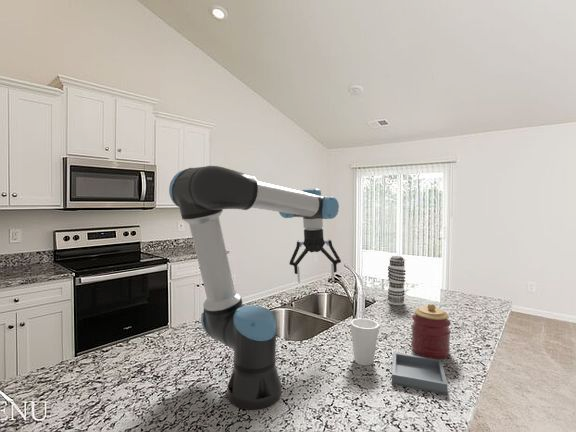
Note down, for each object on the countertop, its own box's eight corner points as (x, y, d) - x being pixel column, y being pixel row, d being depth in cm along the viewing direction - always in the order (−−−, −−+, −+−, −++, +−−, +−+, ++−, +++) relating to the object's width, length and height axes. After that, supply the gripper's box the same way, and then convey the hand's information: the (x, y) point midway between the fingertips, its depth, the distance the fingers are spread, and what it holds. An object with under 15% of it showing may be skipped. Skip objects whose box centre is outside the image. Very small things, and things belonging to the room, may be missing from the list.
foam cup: (378, 369, 105) (379, 330, 104) (349, 366, 107) (350, 327, 106) (376, 355, 114) (377, 319, 114) (350, 352, 116) (350, 317, 115)
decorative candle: (383, 300, 177) (384, 255, 176) (397, 299, 180) (399, 255, 179) (393, 305, 168) (395, 258, 167) (408, 304, 171) (409, 257, 170)
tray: (447, 394, 91) (447, 384, 91) (391, 384, 96) (391, 374, 96) (441, 368, 106) (441, 360, 105) (393, 360, 111) (393, 352, 110)
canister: (445, 345, 123) (447, 300, 122) (453, 362, 110) (455, 311, 109) (409, 341, 126) (410, 297, 125) (412, 356, 114) (414, 307, 113)
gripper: (344, 225, 129) (346, 276, 132) (282, 228, 131) (285, 279, 133) (346, 228, 122) (348, 282, 124) (280, 231, 123) (284, 285, 126)
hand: (315, 280), depth 129 cm, fingers open, 13 cm apart
